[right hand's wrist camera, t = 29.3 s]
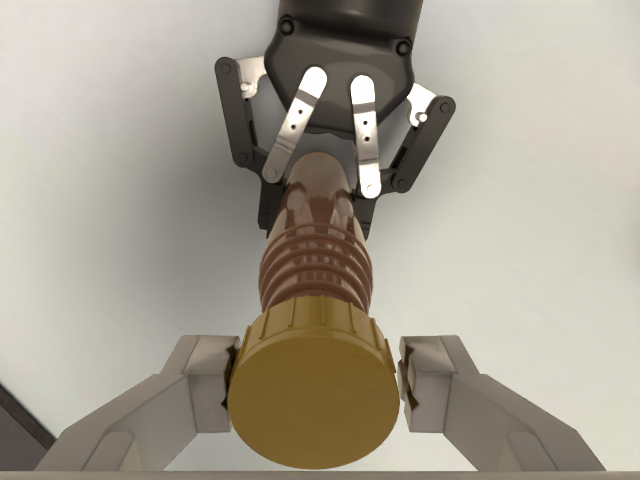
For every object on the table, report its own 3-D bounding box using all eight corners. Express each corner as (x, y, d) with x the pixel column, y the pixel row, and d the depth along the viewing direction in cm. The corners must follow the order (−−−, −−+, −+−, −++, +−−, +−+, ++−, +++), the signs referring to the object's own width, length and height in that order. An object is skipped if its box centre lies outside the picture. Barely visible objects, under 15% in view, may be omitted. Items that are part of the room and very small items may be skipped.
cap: (411, 386, 11) (427, 439, 9) (282, 434, 12) (276, 491, 10) (353, 268, 10) (360, 306, 8) (211, 329, 10) (190, 375, 9)
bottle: (323, 217, 32) (331, 472, 11) (279, 185, 31) (192, 398, 10) (356, 173, 31) (440, 368, 10) (311, 140, 30) (292, 272, 9)
